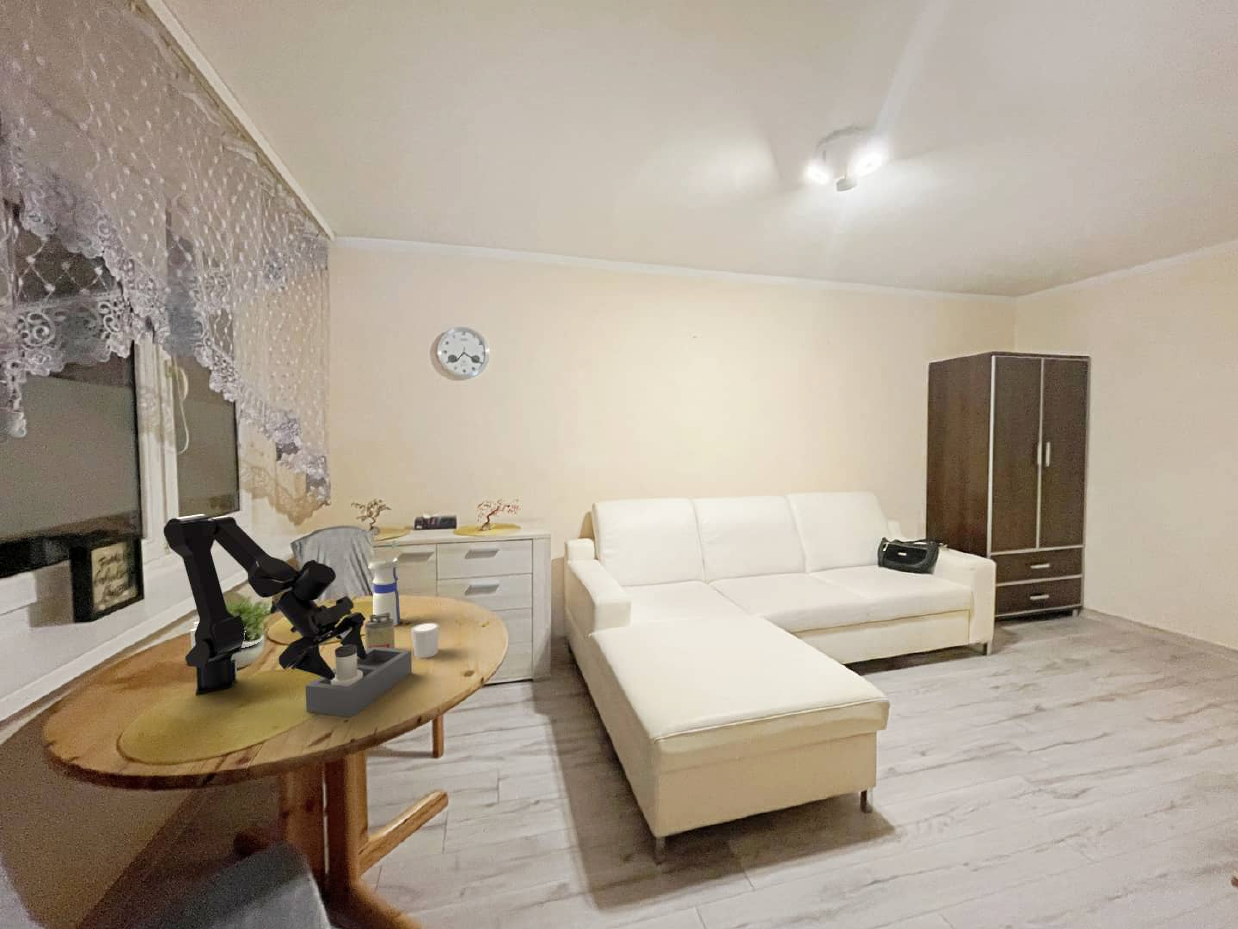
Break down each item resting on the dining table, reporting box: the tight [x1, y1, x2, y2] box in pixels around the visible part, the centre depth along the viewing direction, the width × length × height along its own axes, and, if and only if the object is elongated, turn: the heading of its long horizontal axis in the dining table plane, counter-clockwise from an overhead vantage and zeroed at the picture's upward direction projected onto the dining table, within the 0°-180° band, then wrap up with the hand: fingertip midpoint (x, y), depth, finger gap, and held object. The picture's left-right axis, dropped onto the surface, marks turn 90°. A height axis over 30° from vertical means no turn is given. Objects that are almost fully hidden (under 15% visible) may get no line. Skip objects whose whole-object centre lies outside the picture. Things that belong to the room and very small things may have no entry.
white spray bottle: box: [367, 539, 401, 627], centre depth 151 cm, size 8×9×25 cm
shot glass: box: [410, 622, 440, 659], centre depth 130 cm, size 7×7×7 cm
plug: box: [331, 645, 363, 687], centre depth 107 cm, size 6×6×9 cm
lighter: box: [364, 612, 396, 651], centre depth 132 cm, size 7×4×10 cm, turn 112°
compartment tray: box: [305, 647, 413, 718], centre depth 111 cm, size 20×11×6 cm, turn 167°
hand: (350, 668), depth 106 cm, fingers open, 9 cm apart
